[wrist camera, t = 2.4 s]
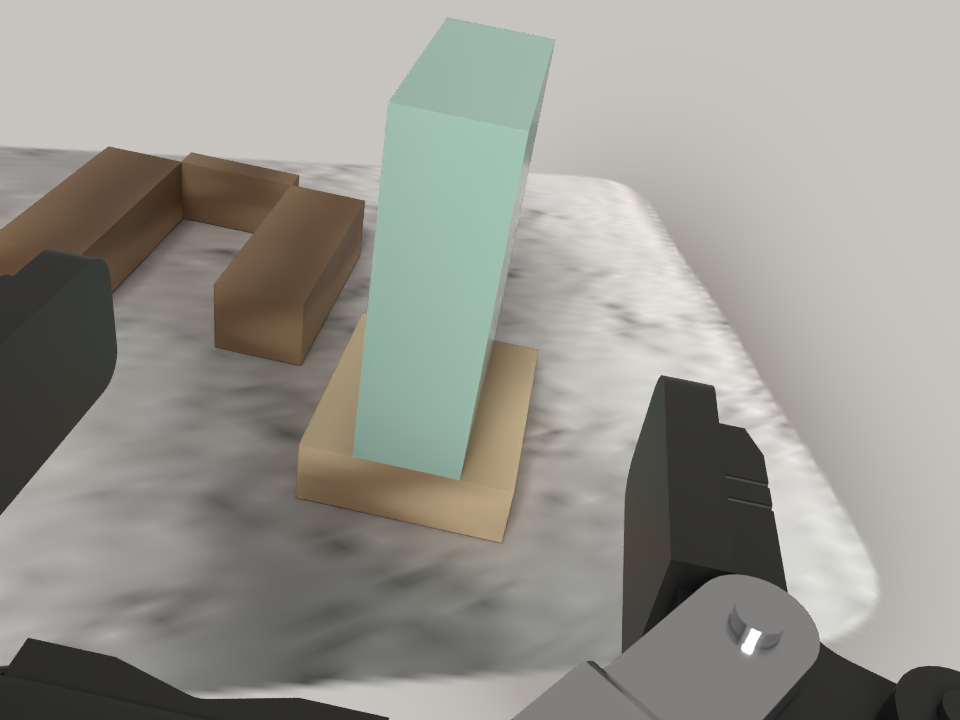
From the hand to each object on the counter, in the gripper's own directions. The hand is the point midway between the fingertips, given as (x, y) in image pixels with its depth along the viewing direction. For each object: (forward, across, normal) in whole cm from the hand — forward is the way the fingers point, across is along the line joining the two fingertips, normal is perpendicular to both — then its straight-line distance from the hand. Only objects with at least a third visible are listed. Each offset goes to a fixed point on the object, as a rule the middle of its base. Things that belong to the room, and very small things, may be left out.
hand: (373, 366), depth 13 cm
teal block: (+12, 0, +9) cm, 15 cm away
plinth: (+12, 0, +11) cm, 16 cm away
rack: (+18, +10, +11) cm, 23 cm away
